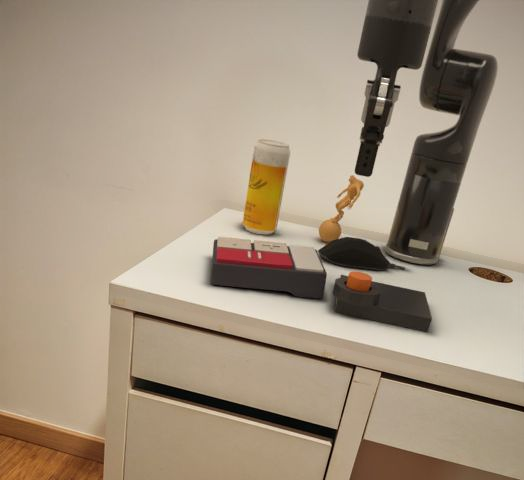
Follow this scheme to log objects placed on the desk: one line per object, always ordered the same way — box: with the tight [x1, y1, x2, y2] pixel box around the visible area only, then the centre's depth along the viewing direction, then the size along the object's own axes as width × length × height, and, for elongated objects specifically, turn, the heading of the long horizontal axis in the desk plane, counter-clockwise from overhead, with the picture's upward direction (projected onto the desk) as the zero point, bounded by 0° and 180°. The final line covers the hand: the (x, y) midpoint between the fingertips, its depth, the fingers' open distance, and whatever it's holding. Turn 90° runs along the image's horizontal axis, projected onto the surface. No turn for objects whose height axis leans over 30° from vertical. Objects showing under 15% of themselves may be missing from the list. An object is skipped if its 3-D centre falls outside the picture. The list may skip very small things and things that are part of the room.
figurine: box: [318, 174, 365, 243], centre depth 102 cm, size 8×6×12 cm
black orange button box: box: [332, 274, 433, 333], centre depth 77 cm, size 11×13×4 cm
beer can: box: [242, 138, 291, 236], centre depth 100 cm, size 6×6×15 cm
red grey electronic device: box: [210, 236, 328, 300], centre depth 81 cm, size 11×4×15 cm
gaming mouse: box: [317, 236, 406, 271], centre depth 95 cm, size 6×15×4 cm, turn 95°
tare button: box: [346, 270, 373, 291], centre depth 74 cm, size 3×3×2 cm
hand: (362, 174), depth 74 cm, fingers closed
